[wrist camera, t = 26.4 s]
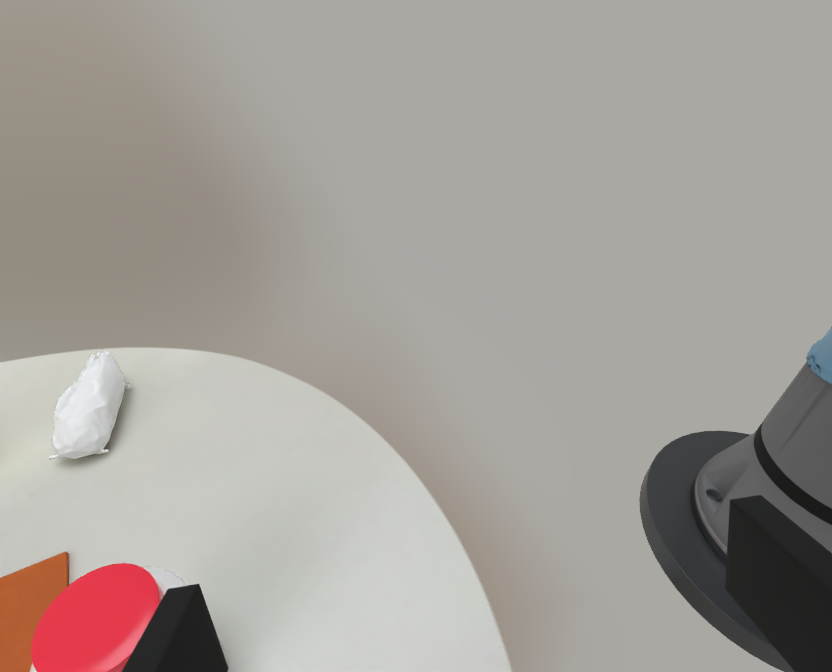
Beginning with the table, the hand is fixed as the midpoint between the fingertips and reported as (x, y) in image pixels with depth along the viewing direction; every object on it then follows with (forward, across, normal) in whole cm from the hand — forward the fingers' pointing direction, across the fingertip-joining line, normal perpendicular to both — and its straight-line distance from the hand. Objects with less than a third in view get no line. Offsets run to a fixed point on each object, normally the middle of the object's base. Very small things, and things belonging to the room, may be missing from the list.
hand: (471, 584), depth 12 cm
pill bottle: (+14, -19, -18) cm, 30 cm away
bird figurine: (+34, -32, -8) cm, 47 cm away
